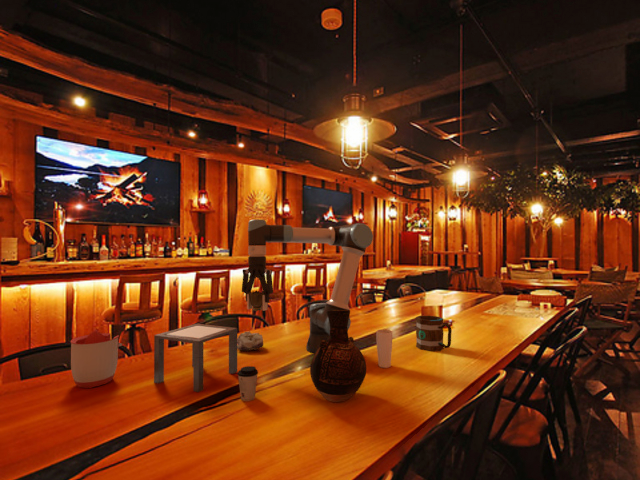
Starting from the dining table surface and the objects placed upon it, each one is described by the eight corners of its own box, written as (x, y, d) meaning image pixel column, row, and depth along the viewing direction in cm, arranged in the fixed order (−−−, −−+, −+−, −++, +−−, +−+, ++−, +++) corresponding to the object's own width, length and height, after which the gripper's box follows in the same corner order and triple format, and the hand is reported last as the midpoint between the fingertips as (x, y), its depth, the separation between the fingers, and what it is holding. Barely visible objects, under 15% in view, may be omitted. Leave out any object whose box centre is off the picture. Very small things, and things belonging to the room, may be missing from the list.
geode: (249, 365, 168) (270, 351, 180) (252, 348, 165) (273, 336, 177) (225, 347, 176) (247, 336, 188) (227, 332, 173) (249, 321, 185)
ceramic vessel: (333, 416, 105) (333, 317, 106) (298, 398, 119) (298, 309, 119) (378, 396, 119) (377, 309, 120) (342, 382, 132) (341, 303, 133)
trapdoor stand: (237, 371, 144) (237, 328, 144) (198, 392, 124) (198, 341, 124) (196, 364, 153) (196, 323, 153) (154, 382, 133) (154, 335, 133)
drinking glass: (394, 364, 152) (393, 330, 152) (390, 369, 145) (390, 333, 146) (378, 362, 154) (378, 328, 155) (374, 367, 148) (374, 332, 149)
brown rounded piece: (269, 309, 151) (269, 290, 151) (261, 312, 144) (260, 292, 144) (254, 308, 153) (253, 290, 154) (245, 311, 146) (245, 292, 147)
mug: (410, 346, 180) (410, 317, 180) (428, 342, 187) (428, 314, 187) (441, 356, 163) (441, 324, 163) (460, 351, 170) (459, 321, 170)
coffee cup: (240, 404, 114) (240, 373, 114) (235, 396, 120) (235, 367, 120) (260, 400, 117) (260, 370, 117) (254, 392, 123) (254, 364, 123)
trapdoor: (197, 341, 127) (197, 338, 127) (165, 337, 134) (165, 334, 134) (226, 331, 142) (226, 328, 143) (196, 328, 149) (196, 325, 149)
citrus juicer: (131, 378, 137) (131, 327, 138) (83, 394, 122) (83, 337, 123) (109, 371, 145) (109, 323, 146) (61, 385, 130) (62, 331, 131)
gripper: (232, 255, 150) (232, 309, 149) (272, 256, 142) (272, 312, 141) (243, 255, 157) (243, 306, 156) (281, 255, 148) (282, 309, 148)
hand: (257, 309), depth 149 cm, fingers closed on brown rounded piece, 7 cm apart
